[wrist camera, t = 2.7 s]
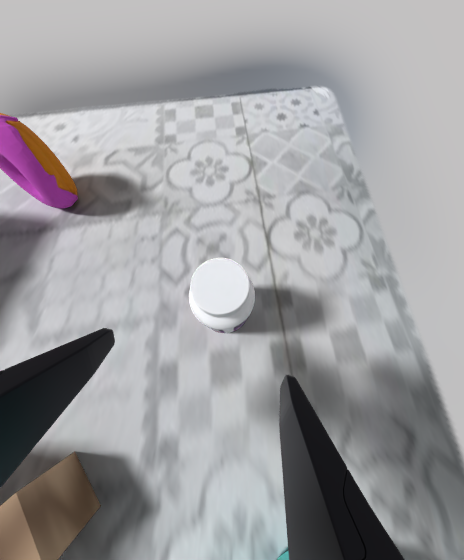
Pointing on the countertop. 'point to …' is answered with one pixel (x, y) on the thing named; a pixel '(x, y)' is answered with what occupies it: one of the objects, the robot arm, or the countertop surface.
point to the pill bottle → (221, 295)
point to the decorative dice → (284, 556)
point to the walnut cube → (47, 513)
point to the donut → (34, 165)
